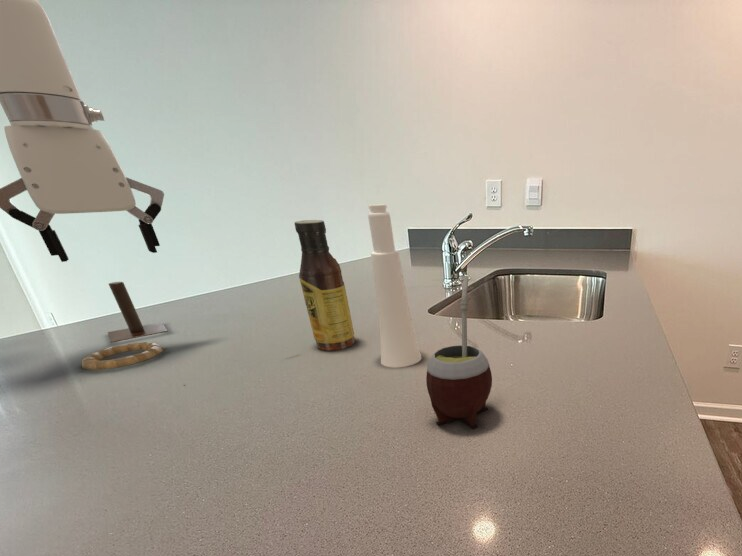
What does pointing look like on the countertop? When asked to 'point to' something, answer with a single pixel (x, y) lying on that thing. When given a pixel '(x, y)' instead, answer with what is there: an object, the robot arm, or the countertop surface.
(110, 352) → the ring
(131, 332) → the peg stand
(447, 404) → the mate gourd
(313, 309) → the sauce bottle
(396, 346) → the cosmetic bottle
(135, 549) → the countertop surface
